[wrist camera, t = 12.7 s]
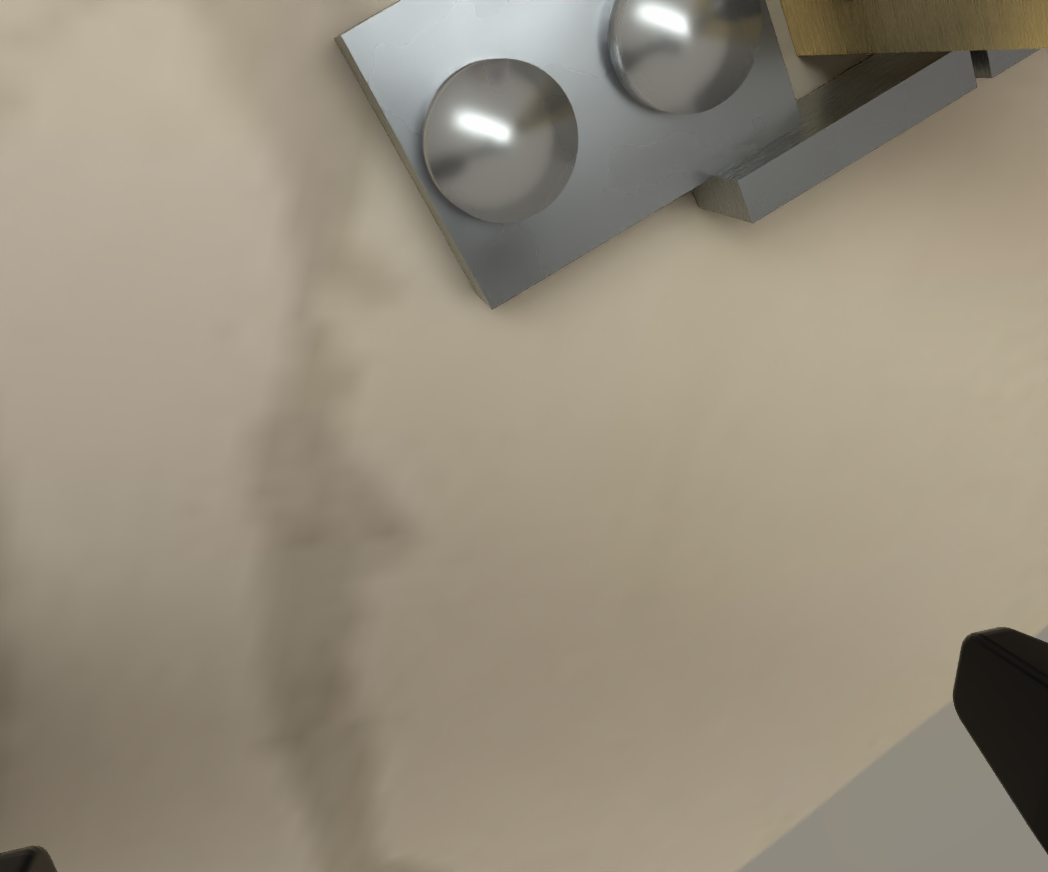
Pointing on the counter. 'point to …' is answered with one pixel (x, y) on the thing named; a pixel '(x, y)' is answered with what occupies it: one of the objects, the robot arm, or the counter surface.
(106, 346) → the counter surface
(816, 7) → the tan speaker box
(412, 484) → the counter surface
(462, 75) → the chain ends
